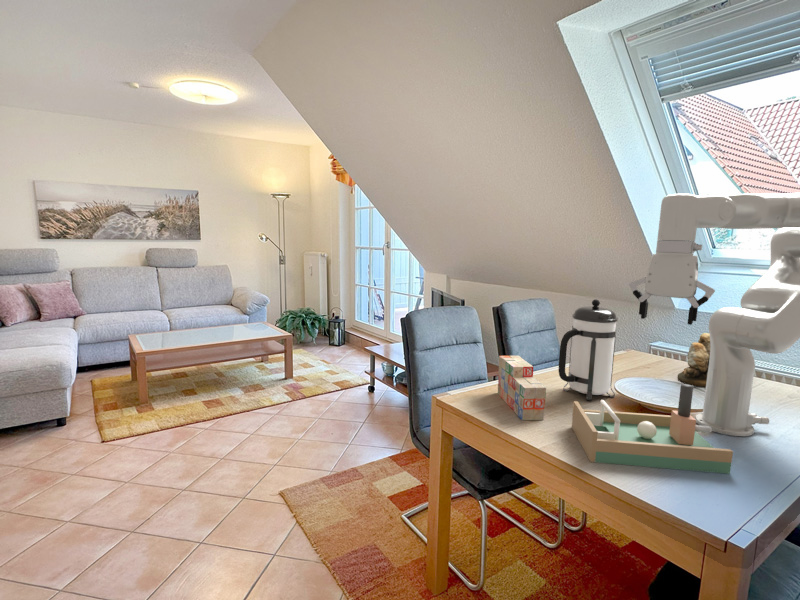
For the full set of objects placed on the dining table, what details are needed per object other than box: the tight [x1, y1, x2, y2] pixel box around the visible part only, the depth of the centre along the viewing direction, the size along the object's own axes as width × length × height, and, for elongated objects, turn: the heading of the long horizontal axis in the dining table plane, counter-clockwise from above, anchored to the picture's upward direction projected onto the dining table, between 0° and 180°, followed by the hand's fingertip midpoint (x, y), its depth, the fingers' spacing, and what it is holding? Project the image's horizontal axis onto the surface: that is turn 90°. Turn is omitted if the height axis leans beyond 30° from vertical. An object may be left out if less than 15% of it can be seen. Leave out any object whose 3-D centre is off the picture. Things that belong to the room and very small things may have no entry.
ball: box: [637, 421, 657, 439], centre depth 104 cm, size 4×4×4 cm
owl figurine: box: [677, 332, 710, 388], centre depth 154 cm, size 18×12×17 cm, turn 135°
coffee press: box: [558, 299, 619, 402], centre depth 137 cm, size 17×16×30 cm
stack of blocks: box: [497, 355, 547, 421], centre depth 129 cm, size 21×6×12 cm, turn 5°
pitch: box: [571, 399, 734, 475], centre depth 104 cm, size 28×18×9 cm, turn 81°
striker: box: [669, 383, 713, 445], centre depth 102 cm, size 8×5×13 cm, turn 81°
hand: (666, 320), depth 106 cm, fingers open, 9 cm apart
